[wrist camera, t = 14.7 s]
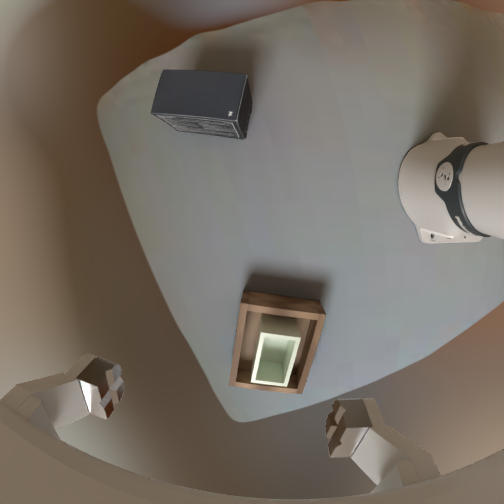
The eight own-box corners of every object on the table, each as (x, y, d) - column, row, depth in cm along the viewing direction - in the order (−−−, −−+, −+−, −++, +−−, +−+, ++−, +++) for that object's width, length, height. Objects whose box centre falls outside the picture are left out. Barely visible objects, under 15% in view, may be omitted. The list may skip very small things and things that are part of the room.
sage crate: (296, 318, 42) (300, 337, 36) (284, 364, 44) (286, 386, 38) (261, 313, 42) (260, 332, 36) (252, 360, 44) (250, 382, 38)
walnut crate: (319, 300, 42) (325, 314, 37) (299, 376, 45) (301, 393, 41) (243, 290, 42) (240, 302, 37) (232, 367, 46) (228, 385, 41)
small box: (253, 99, 36) (249, 71, 26) (245, 140, 37) (238, 123, 27) (185, 92, 36) (161, 66, 26) (176, 131, 37) (148, 115, 27)
